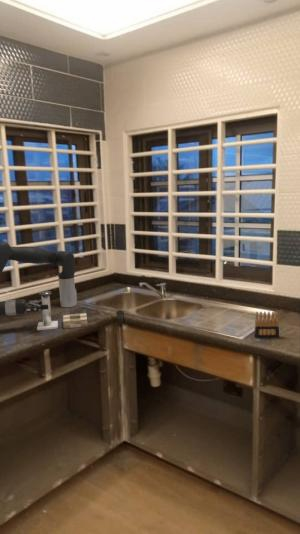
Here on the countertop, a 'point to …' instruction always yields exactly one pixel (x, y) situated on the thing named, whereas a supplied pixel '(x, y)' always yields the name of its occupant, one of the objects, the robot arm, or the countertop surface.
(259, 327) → the ammunition clip
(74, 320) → the eye block
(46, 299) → the steel hook peg
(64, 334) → the countertop surface
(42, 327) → the pad
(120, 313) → the hand tool
